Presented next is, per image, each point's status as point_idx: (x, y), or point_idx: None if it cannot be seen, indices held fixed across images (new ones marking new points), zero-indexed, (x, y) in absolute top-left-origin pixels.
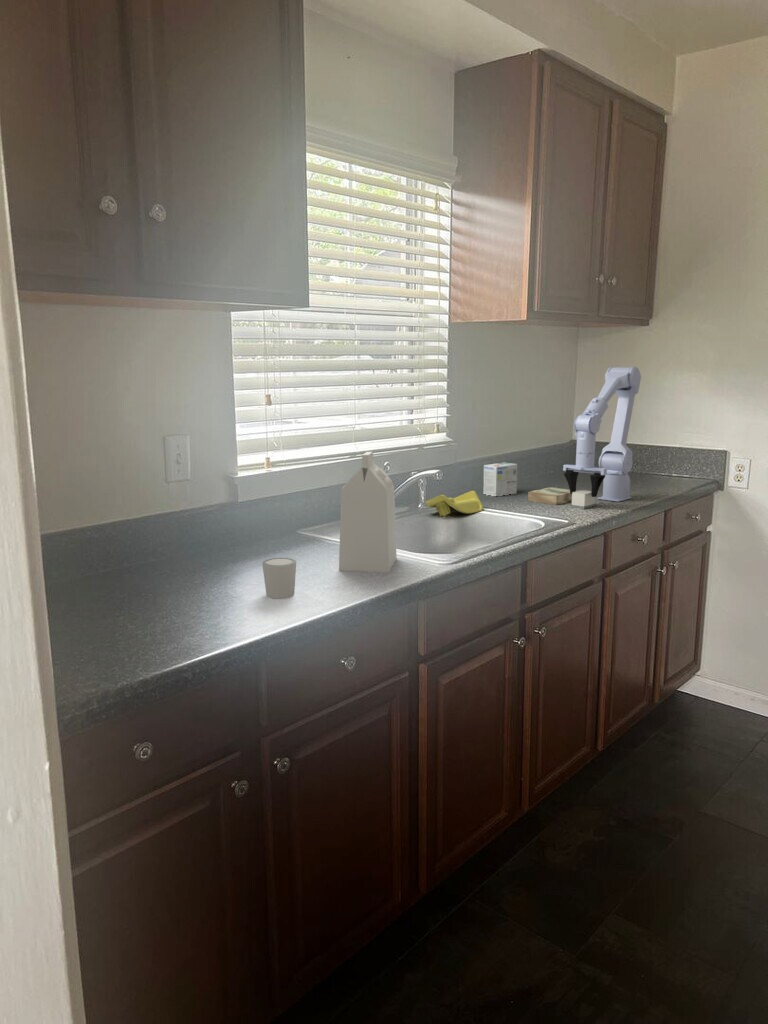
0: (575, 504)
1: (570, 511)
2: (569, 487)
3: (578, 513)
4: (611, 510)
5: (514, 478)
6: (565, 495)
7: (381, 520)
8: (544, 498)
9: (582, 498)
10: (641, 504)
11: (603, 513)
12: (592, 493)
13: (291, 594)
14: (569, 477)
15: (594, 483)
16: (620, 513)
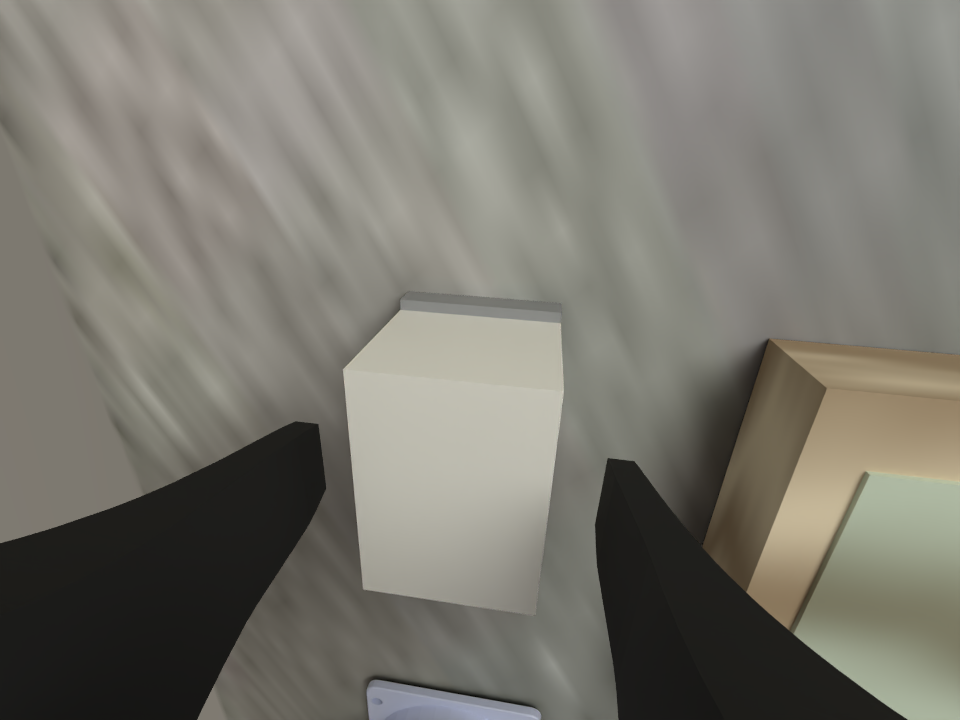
0: (509, 320)
1: (451, 61)
2: (668, 513)
3: (311, 4)
4: (210, 394)
5: None
6: (748, 550)
7: None
8: None
9: (400, 346)
10: (234, 670)
11: (154, 216)
12: (273, 436)
13: None
14: (724, 671)
15: (101, 521)
16: (79, 317)
